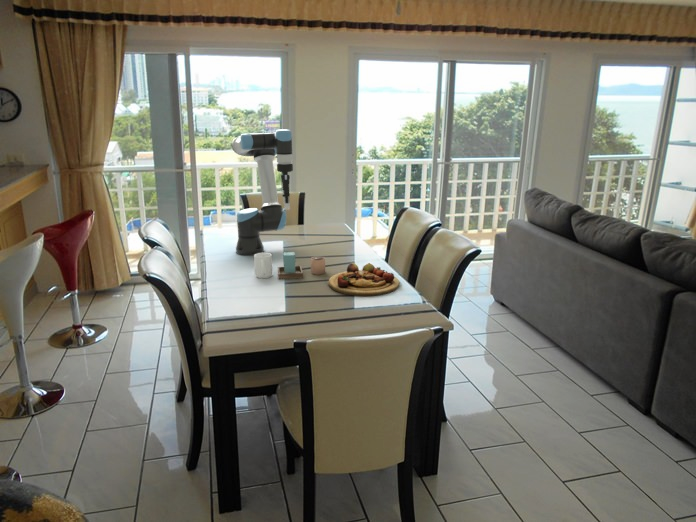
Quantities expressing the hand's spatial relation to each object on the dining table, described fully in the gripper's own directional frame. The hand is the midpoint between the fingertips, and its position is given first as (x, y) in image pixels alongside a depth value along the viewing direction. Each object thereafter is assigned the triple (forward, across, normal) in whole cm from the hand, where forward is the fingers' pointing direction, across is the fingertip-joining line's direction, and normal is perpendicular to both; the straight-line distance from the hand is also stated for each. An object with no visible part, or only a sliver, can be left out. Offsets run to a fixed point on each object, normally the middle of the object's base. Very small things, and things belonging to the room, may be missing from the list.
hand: (286, 206), depth 258 cm
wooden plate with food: (+30, +36, +32) cm, 57 cm away
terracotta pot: (+29, +16, +13) cm, 36 cm away
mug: (+30, +18, -13) cm, 37 cm away
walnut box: (+29, +17, 0) cm, 34 cm away
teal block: (+29, +17, 0) cm, 34 cm away
